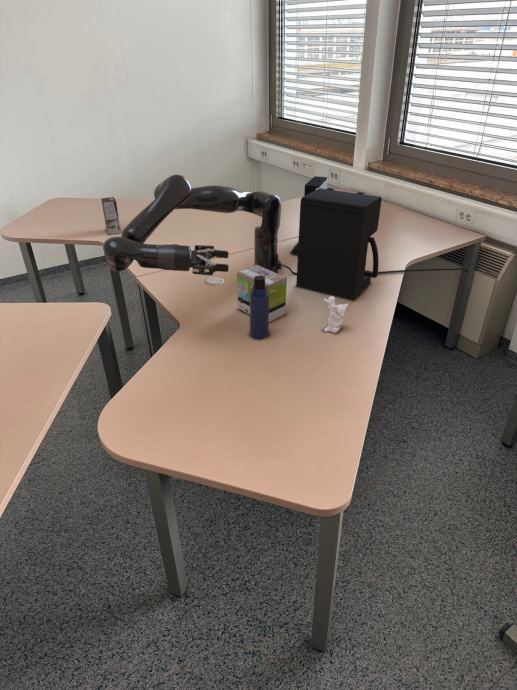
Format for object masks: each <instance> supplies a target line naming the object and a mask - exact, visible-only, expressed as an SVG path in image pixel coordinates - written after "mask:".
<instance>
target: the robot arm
mask: <svg viewBox="0 0 517 690" xmlns="http://www.w3.org/2000/svg"><path fill="white" fill-rule="evenodd" d="M153 197H154V199H153V200H152V202H150V203H149V204H148V205H147V206H145V207H144V208H143V209H142V210H141V211H140V212H138V213H137V214H136V215H135V216H134V217H133V218H132V219H131V220H130V222H128V224H126V226H124V228H123V229H122V231H121V233H120V234H121V235H120V236H112V237H109V238H107V239H106V240H105V241H104V243H103V245H102V248H103V249H102V250H103V253H104V258H105V262H106V265H107V267H108V268H109V269H110V270H111V271H113V272H123V271H125V270H127V269H128V268H129V267H130V266H131V265H132V264H133V263H134V261H136V263H137V264H138V266H139V267H140V268H144V269H155V270H156V269H158V270H163V271H176V272H190V269H191V271H192V274H193V275H200V276H212V277H213V275H214V273H216V272H219V273H220V272H223V273H228V272H229V268H230V267H229V266H230V265H229V264H228V263H215V262H212V261H211V259H214V258H216V259H217V258H218V259H228V258H229V255H230V254H229V250H219V249H216V248H215V246H214V245H206V244H205V245H203V244H202V245H201V244H198V245H197V244H196V245H194V250H191V246H190V245H184V244H183V245H180V244H169V243H168V244H166V243H165V244H152V243H145V242H146V241H147V240H148V239H149V238H150V237H151V236H152V235H153V233H155V231H156V230H157V228H158V227H160V225H161V224H162V222H163V221H164V220H165V219H166V218H168V216H169V215H170V214H171V213H173V211H175V210H198V211H206V212H214V213H221V214H233V213H236V212H246V213H250V214H253V215H256V216H258V217H261V224H257V225H256V226H254V233H253V235H254V236H253V237H254V238H253V239H254V240H253V241H254V243H253V244H254V247H253V249H254V258H253V259H254V262H253V266H255V265H258V266H261V267H263V268H265V269H268V270H270V271H273V272H275V273H277V274H279V270H282V267H284V268H286V269H287V270H289V271H290V273H291V274H293V275H296V276H297V272H295V271H293V269H291V267H289V266H288V265H285V264H283V263H282V262H281V259H279V253H278V236H279V235H278V233H279V229H280V226H281V217H282V203H281V199H280V197H279V196H278V195H276V194H273V193H269V192H267V191H248V190H247V191H245V190H241V189H238V188H235V187H231V186H226V185H219V184H212V185H211V184H210V185H202V186H197V187H196V186H195V187H192V186H191V184H190V182H189V180H188V179H187V178H186V177H185V176H183V175H182V174H172V175H170V176H168V177H166V178H165V179H163V180H162V181H161V182H159V183H157V185H156V186H155V188H154V191H153ZM424 271H426V272H428V271H464V272H465V273H470V271H469V270H468V269H466V268H463V267H457V268H455V267H454V268H449V267H448V268H447V267H445V268H417V269H416V268H413V269H398V270H385V271H378V274H390V273H405V272H406V273H407V272H424Z"/></svg>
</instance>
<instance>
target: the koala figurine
mask: <svg viewBox="0 0 517 690" xmlns="http://www.w3.org/2000/svg"><path fill="white" fill-rule="evenodd" d="M323 301H324V302H325V303H326V304H327V309H328V310H329V313H328V320H327V326H326V327H325V328H324V329H323V331H324V332H331V333H334V334H337V333H338V332H339V331H340V330H341V326H343V325H345V322H346V313H347V310H348V309H349V308H350V303H344V304H342V303H340V304H337V305H336V298H335V296H333V295H330V296H329V297H328V299H327V298H323Z"/></svg>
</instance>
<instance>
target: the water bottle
mask: <svg viewBox="0 0 517 690" xmlns="http://www.w3.org/2000/svg"><path fill="white" fill-rule="evenodd" d="M269 323H270V322H269V292H268V291H267V286H265V277H264V276H255V277H254V286H253V287H252V291H251V292H250V314H249V336H250V337H251V338H253V339H255V340H263V339H266V338H268V337H269Z"/></svg>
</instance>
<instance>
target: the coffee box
mask: <svg viewBox="0 0 517 690" xmlns="http://www.w3.org/2000/svg"><path fill="white" fill-rule="evenodd" d="M100 200H101V205H102V212H103V218H104V223H105V229H106V232H107V235H115V234H122V231H121V226H120V225H121V224H120V218H119V212H118V205H117V200H116V199H115V197H114V196H111V197H102V198H101V199H100Z"/></svg>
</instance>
